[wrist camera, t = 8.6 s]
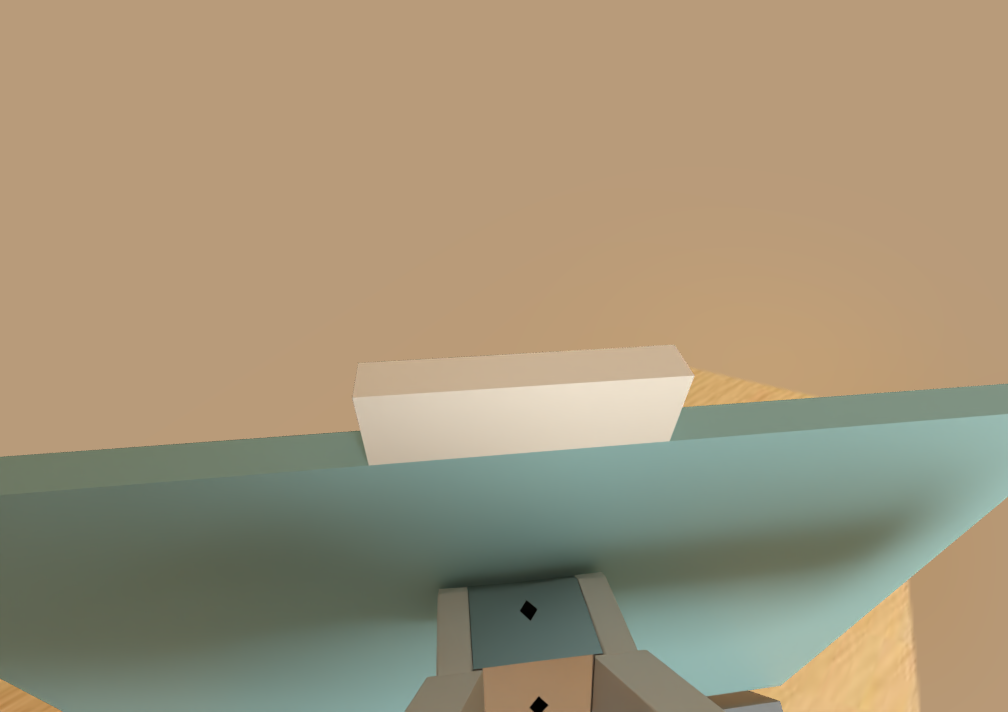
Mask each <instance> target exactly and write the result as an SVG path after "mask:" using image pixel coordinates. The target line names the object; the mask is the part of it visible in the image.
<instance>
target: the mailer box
mask: <svg viewBox="0 0 1008 712" xmlns="http://www.w3.org/2000/svg"><path fill="white" fill-rule="evenodd" d="M706 697H707V698H709V699H710V700H711V701H713V702H714V703H715V704H716V705H718V706H719V707H720V708H721V709H723V710H724V711H725V712H783V710H782V707H781V703H780V701H778V700H775V699H772V698H769V697H766V696H763V695H760V694H757V693H754V692H751V691H748V690H747V691H740V692H733V693H726V694H719V695H712V696H706Z"/></svg>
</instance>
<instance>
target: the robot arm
mask: <svg viewBox="0 0 1008 712" xmlns="http://www.w3.org/2000/svg"><path fill="white" fill-rule="evenodd" d="M468 600H469V604H468ZM405 712H725V711H724V710H723V709H721V708H720V707H719V706H718V705H716V704H715V703H714V702H713V701H711V700H710V699H709V698H707V697H706V696H705V695H704V694H702V693H701V692H700V691H699V690H697V689H696V688H695V687H693V686H692V685H691V684H690V683H688V682H687V681H686V680H685V679H683V678H682V677H681V676H679V675H678V674H677V673H676V672H674V671H673V670H672V669H671V668H669V667H668V666H667V665H666V664H664V663H663V662H662V661H660V660H659V659H658V658H657V657H655V656H654V655H653V654H652V653H650V652H649V651H648V650H637V647H636V645H635V643H634V640H633V638H632V636H631V634H630V631H629V629H628V627H627V624H626V622H625V620H624V618H623V615H622V613H621V611H620V608H619V606H618V604H617V601H616V599H615V597H614V595H613V592H612V590H611V588H610V585H609V583H608V581H607V579H606V576H605V575H604V574H603V573H602V572H596V573H588V574H580V575H575V576H564V577H556V578H547V579H538V580H530V581H521V582H513V583H500V584H488V585H475V586H468V590H467V587H460V588H446V589H439V592H438V601H437V657H436V676H431V677H427V678H426V679H425V681H424V682H423V684H422V685H421V687H420V689H419V690H418V692H417V693H416V695H415V696H414V698H413V699H412V701H411V702H410V704H409V705H408V707H407V708H406V710H405Z"/></svg>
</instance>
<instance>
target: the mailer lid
mask: <svg viewBox="0 0 1008 712" xmlns="http://www.w3.org/2000/svg"><path fill="white" fill-rule="evenodd" d="M693 378H694V374H693V373H692V371H691V369H690V368H689V366H688V365H687V363H686V362H685V360H684V359H683V357H682V356H681V354H680V352H679V351H678V349H677V348H676V346H675V345H662V346H646V347H627V348H609V349H593V350H574V351H557V352H539V353H522V354H505V355H487V356H469V357H451V358H434V359H417V360H399V361H381V362H364V363H358V367H357V373H356V379H355V384H354V390H353V396H352V399H353V403H354V407H355V411H356V415H357V420H358V424H359V427H360V431H351V432H338V433H323V434H309V435H297V436H282V437H268V438H254V439H240V440H226V441H213V442H199V443H185V444H173V445H158V446H144V447H130V448H116V449H103V450H89V451H76V452H61V453H49V454H34V455H21V456H6V457H0V679H2V680H4V681H6V682H8V683H10V684H12V685H14V686H15V687H17V688H19V689H21V690H23V691H25V692H27V693H29V694H31V695H33V696H34V697H36V698H38V699H40V700H42V701H44V702H46V703H48V704H50V705H52V706H54V707H55V708H57V709H59V710H61V711H63V712H405V710H406V708H407V707H408V705H409V704H410V702H411V701H412V699H413V698H414V696H415V695H416V693H417V692H418V690H419V689H420V687H421V685H422V684H423V682H424V681H425V679H426V678H427V677H431V676H436V657H437V601H438V592H439V589H446V588H460V587H467V590H468V586H475V585H488V584H500V583H513V582H521V581H530V580H538V579H547V578H556V577H564V576H575V575H580V574H588V573H596V572H602V573H603V574H604V575H605V576H606V579H607V581H608V583H609V585H610V588H611V590H612V592H613V595H614V597H615V599H616V601H617V604H618V606H619V608H620V611H621V613H622V615H623V618H624V620H625V622H626V624H627V627H628V629H629V631H630V634H631V636H632V638H633V640H634V643H635V645H636V647H637V650H648V651H649V652H650V653H652V654H653V655H654V656H655V657H657V658H658V659H659V660H660V661H662V662H663V663H664V664H666V665H667V666H668V667H669V668H671V669H672V670H673V671H674V672H676V673H677V674H678V675H679V676H681V677H682V678H683V679H685V680H686V681H687V682H688V683H690V684H691V685H692V686H693V687H695V688H696V689H697V690H699V691H700V692H701V693H702V694H704V695H705V696H712V695H719V694H726V693H733V692H740V691H747V690H754V689H761V688H768V687H775V686H781V685H782V684H783V683H784V682H786V681H787V680H788V679H789V678H790V677H792V676H793V675H794V674H795V673H796V672H798V671H799V670H800V669H801V668H802V667H804V666H805V665H806V664H807V663H808V662H810V661H811V660H812V659H813V658H814V657H816V656H817V655H818V654H819V653H820V652H822V651H823V650H824V649H825V648H826V647H828V646H829V645H830V644H831V643H832V642H834V641H835V640H836V639H837V638H838V637H840V636H841V635H842V634H843V633H844V632H846V631H847V630H848V629H849V628H850V627H852V626H853V625H854V624H855V623H856V622H858V621H859V620H860V619H861V618H862V617H864V616H865V615H866V614H867V613H868V612H870V611H871V610H872V609H873V608H874V607H876V606H877V605H878V604H879V603H880V602H882V601H883V600H884V599H885V598H887V597H888V596H889V595H890V594H891V593H893V592H894V591H895V590H896V589H897V588H899V587H900V586H901V585H902V584H903V583H905V582H906V581H907V580H908V579H909V578H910V577H912V576H913V575H914V574H915V573H917V571H919V570H920V569H921V568H923V567H924V566H925V565H926V564H927V563H929V562H930V561H931V560H932V559H933V558H935V557H936V556H937V555H938V554H939V553H941V552H942V551H943V550H944V549H945V548H947V547H948V546H949V545H950V544H951V543H952V542H954V541H955V540H956V539H957V538H958V537H960V536H961V535H962V534H963V533H965V532H966V531H967V530H968V529H969V528H971V527H972V526H973V525H974V524H975V523H977V522H978V521H979V520H980V519H981V518H983V517H984V516H985V515H986V514H987V513H989V512H990V511H991V510H992V509H994V508H995V507H996V506H997V505H998V504H1000V503H1001V502H1002V501H1003V500H1004V499H1006V498H1007V497H1008V384H999V385H984V386H971V387H957V388H944V389H930V390H915V391H903V392H890V393H889V392H888V393H874V394H861V395H847V396H834V397H819V398H805V399H791V400H778V401H764V402H750V403H736V404H723V405H709V406H695V407H683V404H684V402H685V399H686V396H687V394H688V391H689V388H690V386H691V383H692V381H693ZM468 604H469V600H468Z"/></svg>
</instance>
